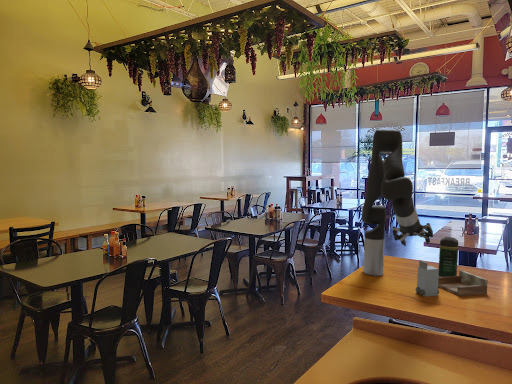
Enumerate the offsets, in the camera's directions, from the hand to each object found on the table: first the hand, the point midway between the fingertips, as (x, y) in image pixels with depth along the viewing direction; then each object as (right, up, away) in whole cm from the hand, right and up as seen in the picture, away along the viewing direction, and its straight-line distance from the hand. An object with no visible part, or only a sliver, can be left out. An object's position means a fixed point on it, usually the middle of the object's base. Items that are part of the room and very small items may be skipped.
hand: (416, 243), depth 157 cm
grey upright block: (+6, -21, +4) cm, 23 cm away
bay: (+23, -21, +10) cm, 32 cm away
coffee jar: (+27, -20, +29) cm, 44 cm away
